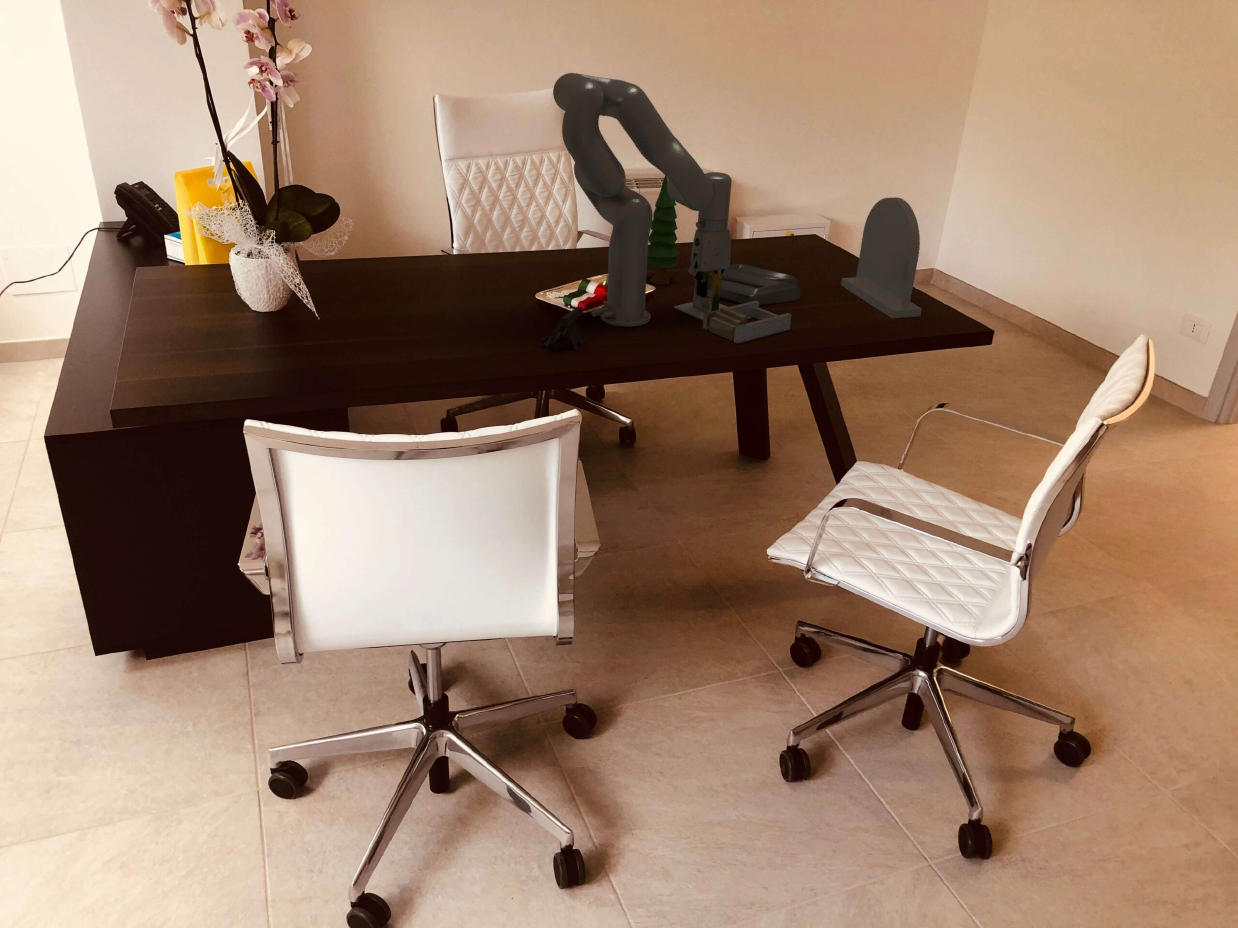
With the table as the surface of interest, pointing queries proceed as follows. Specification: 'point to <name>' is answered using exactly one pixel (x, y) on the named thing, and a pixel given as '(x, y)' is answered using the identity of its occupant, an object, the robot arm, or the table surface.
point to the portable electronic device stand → (568, 325)
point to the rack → (757, 329)
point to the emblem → (758, 285)
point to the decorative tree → (663, 237)
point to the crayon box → (709, 293)
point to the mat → (693, 310)
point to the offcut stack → (726, 322)
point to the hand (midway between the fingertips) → (706, 294)
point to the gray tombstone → (888, 259)
